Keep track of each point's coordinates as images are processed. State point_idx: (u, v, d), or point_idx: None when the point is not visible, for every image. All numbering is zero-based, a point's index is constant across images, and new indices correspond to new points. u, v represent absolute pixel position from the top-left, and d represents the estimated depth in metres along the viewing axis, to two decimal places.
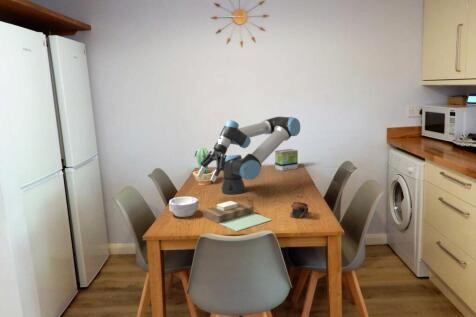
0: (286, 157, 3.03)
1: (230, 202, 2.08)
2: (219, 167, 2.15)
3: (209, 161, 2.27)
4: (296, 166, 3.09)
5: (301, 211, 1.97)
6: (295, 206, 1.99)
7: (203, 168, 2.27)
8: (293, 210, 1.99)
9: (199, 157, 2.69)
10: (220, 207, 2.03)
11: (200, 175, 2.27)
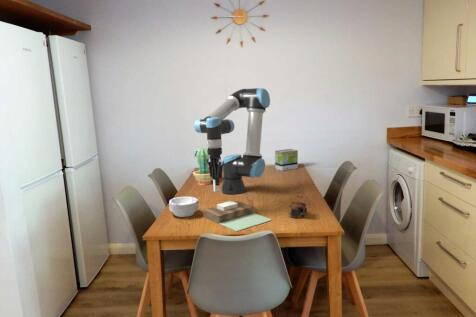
0: (286, 157, 3.03)
1: (230, 202, 2.08)
2: (216, 176, 2.07)
3: None
4: (296, 166, 3.09)
5: (300, 211, 1.97)
6: (294, 206, 1.99)
7: None
8: (292, 210, 1.98)
9: (199, 157, 2.69)
10: (220, 207, 2.03)
11: None
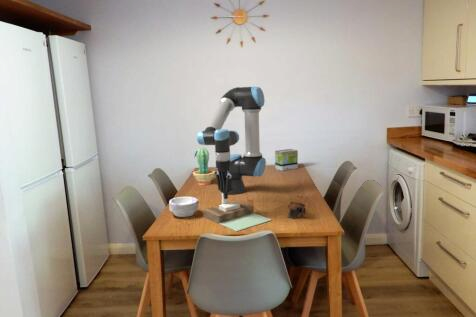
0: (286, 157, 3.03)
1: (232, 203, 2.06)
2: (225, 190, 2.02)
3: None
4: (296, 166, 3.09)
5: (298, 211, 1.97)
6: (292, 206, 1.98)
7: None
8: (290, 210, 1.98)
9: (199, 157, 2.69)
10: (222, 208, 2.01)
11: None
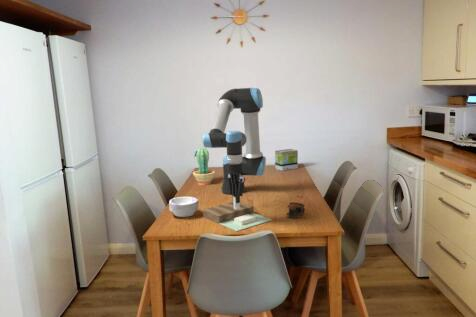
0: (286, 157, 3.03)
1: None
2: (237, 194, 1.95)
3: None
4: (296, 166, 3.09)
5: (297, 211, 1.97)
6: (291, 206, 1.98)
7: None
8: (289, 210, 1.98)
9: (199, 157, 2.69)
10: (237, 221, 1.92)
11: None
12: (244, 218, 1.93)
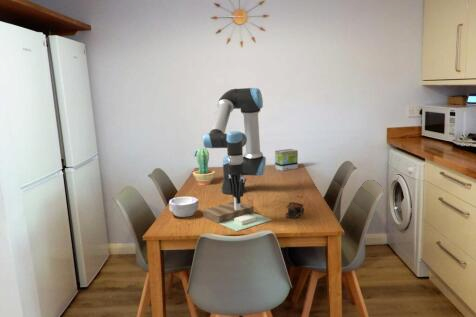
0: (286, 157, 3.03)
1: None
2: (238, 194, 1.94)
3: None
4: (296, 166, 3.09)
5: (297, 211, 1.97)
6: (291, 206, 1.98)
7: None
8: (289, 210, 1.98)
9: (199, 157, 2.69)
10: (237, 221, 1.92)
11: None
12: (244, 218, 1.93)
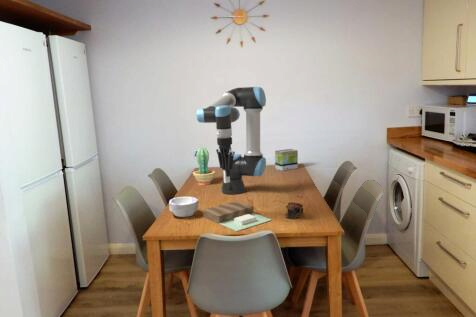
0: (286, 157, 3.03)
1: None
2: (227, 167, 1.99)
3: (224, 159, 2.02)
4: (296, 166, 3.09)
5: (296, 211, 1.97)
6: (290, 207, 1.98)
7: None
8: (288, 211, 1.98)
9: (199, 157, 2.69)
10: (237, 221, 1.92)
11: None
12: (244, 218, 1.93)
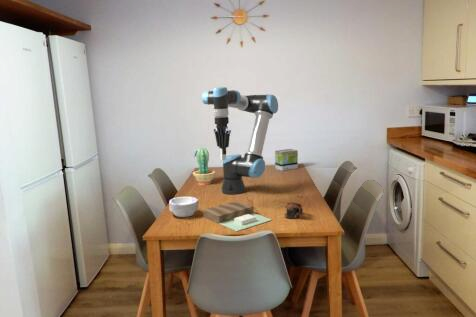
0: (286, 157, 3.03)
1: None
2: (223, 145, 2.12)
3: None
4: (296, 166, 3.09)
5: (295, 212, 1.96)
6: (289, 207, 1.98)
7: None
8: (287, 211, 1.98)
9: (199, 157, 2.69)
10: (237, 221, 1.92)
11: None
12: (244, 218, 1.93)
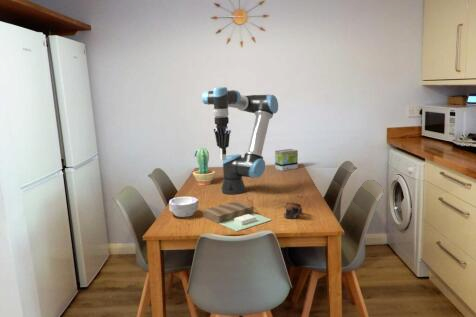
0: (286, 157, 3.03)
1: None
2: (223, 145, 2.12)
3: None
4: (296, 166, 3.09)
5: (295, 212, 1.96)
6: (289, 207, 1.98)
7: None
8: (287, 211, 1.98)
9: (199, 157, 2.69)
10: (237, 221, 1.92)
11: None
12: (244, 218, 1.93)
